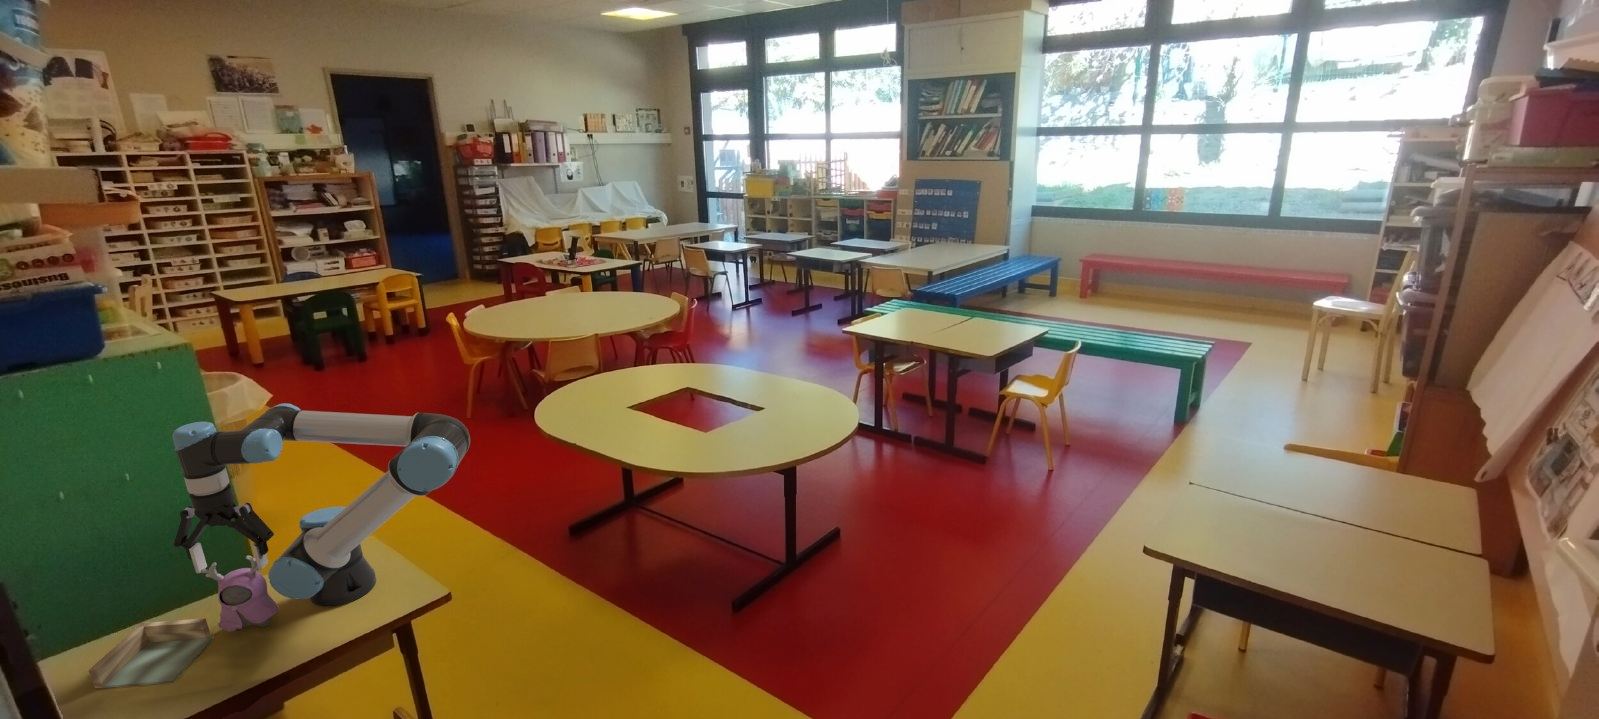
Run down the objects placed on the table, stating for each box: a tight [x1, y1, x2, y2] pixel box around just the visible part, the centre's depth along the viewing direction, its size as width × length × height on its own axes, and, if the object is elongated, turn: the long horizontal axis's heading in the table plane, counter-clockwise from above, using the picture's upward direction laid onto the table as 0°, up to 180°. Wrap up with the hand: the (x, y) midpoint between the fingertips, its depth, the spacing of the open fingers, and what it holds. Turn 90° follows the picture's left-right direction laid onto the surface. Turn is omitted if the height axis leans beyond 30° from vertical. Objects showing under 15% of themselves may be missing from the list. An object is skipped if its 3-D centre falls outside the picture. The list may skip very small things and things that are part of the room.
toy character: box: [200, 555, 280, 633], centre depth 174 cm, size 12×10×20 cm
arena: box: [88, 617, 214, 689], centre depth 167 cm, size 16×16×5 cm
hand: (232, 567), depth 172 cm, fingers open, 13 cm apart
